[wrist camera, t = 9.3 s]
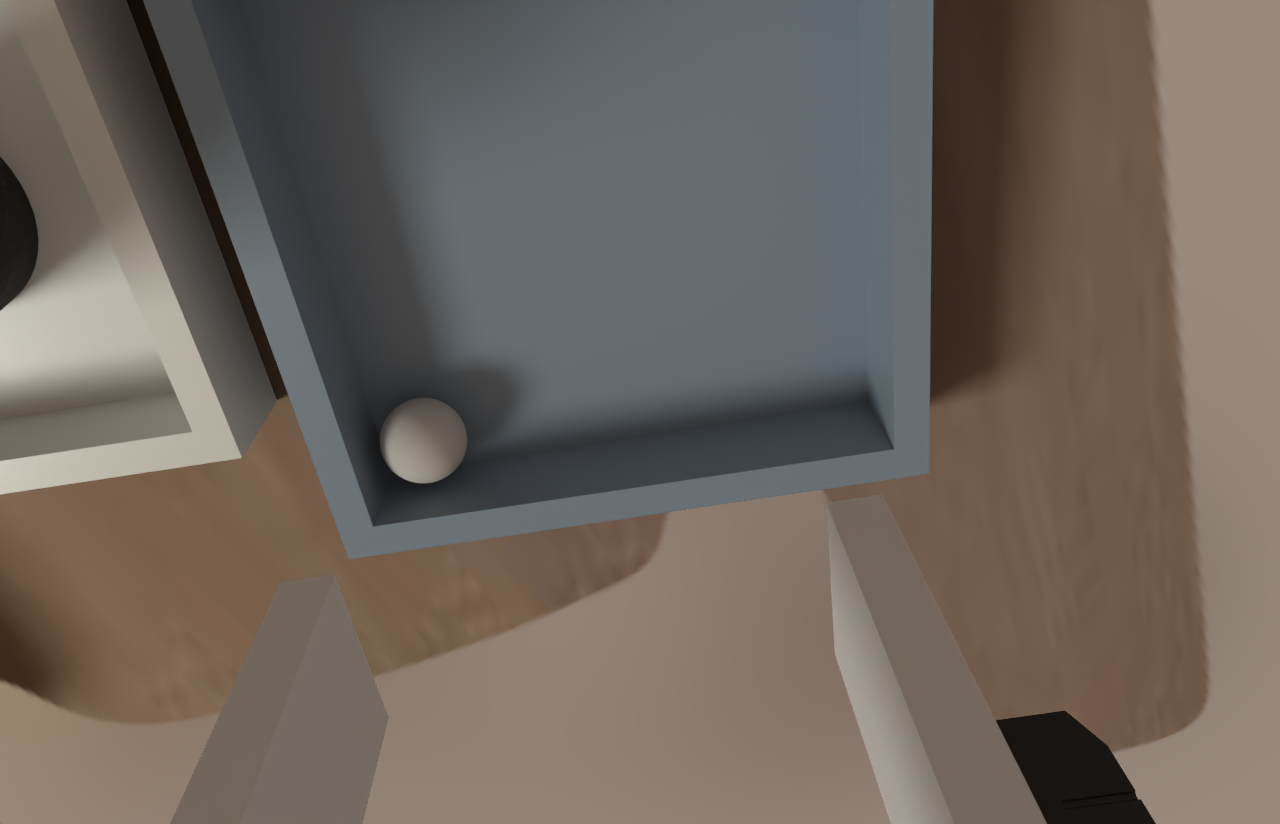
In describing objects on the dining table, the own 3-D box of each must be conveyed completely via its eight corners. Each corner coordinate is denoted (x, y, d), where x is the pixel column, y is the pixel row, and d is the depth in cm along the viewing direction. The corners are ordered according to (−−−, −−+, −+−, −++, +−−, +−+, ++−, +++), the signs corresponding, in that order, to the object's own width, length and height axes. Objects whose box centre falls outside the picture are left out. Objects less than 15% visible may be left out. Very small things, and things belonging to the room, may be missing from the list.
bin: (371, 495, 36) (348, 559, 33) (170, -98, 26) (106, -98, 23) (895, 417, 36) (929, 473, 32) (888, -217, 26) (935, -235, 22)
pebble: (400, 460, 35) (385, 505, 32) (378, 389, 33) (360, 431, 31) (479, 448, 35) (471, 493, 32) (461, 377, 33) (450, 418, 31)
